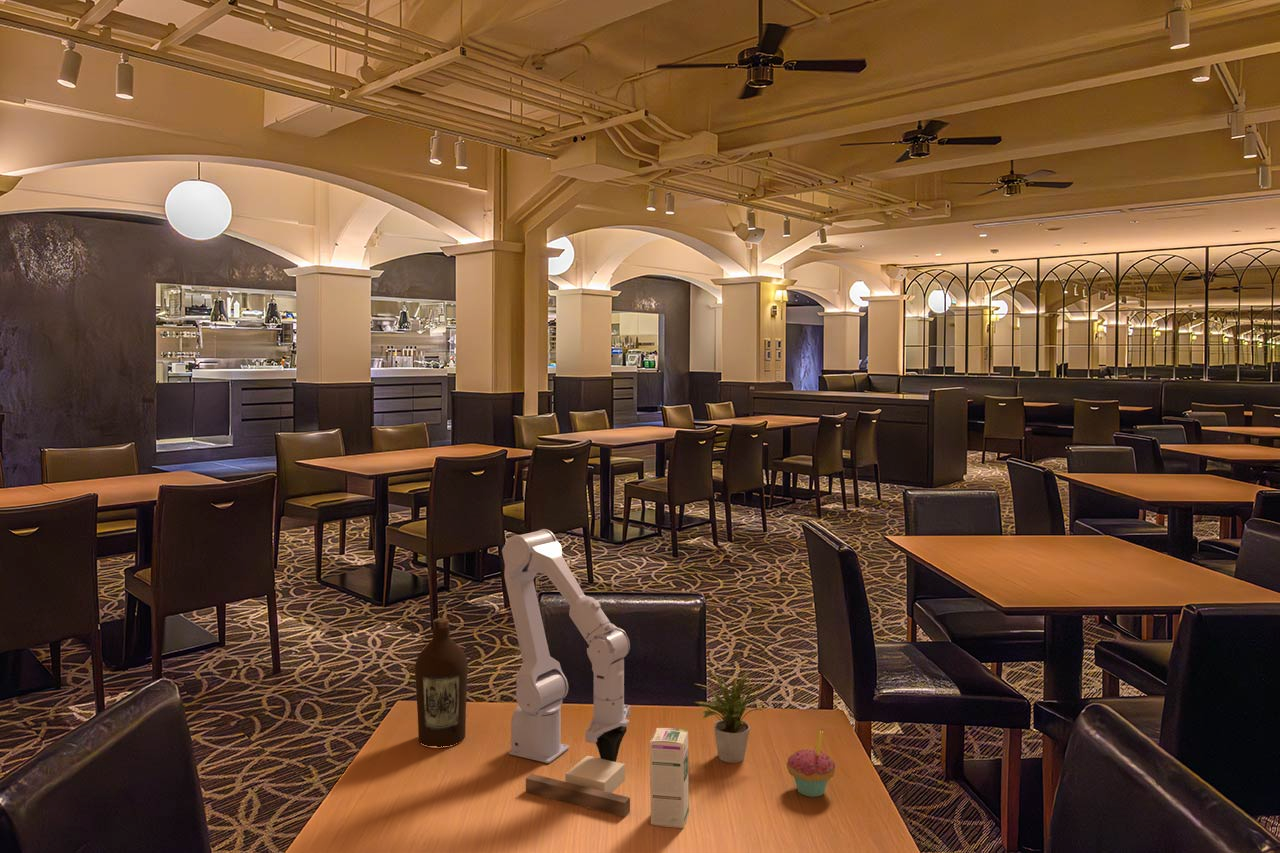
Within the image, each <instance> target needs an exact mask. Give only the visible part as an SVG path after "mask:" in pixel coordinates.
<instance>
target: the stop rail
mask: <svg viewBox="0 0 1280 853" xmlns="http://www.w3.org/2000/svg"><path fill="white" fill-rule="evenodd" d="M525 793H529V794H532V795H536V796H541V797H545V798H548V799H552V800H556V801H558V802H559V801H560V802H564V803H568V804H571V805H575V806H580V807H584V808H588V809H591V810H595V811H599V812H603V813H607V814H610V815H614V816H620V817H622V818H626V816H628V815H629V814H630V812H631V797H629V796H625V795H621V794H616V793H614V792H612V793H609V792H605V791H601V790H597V789H593V788H589V787H585V786H580V785H576V784H572V783H568V782H566V781H563V780H559V779H557V778H556V779H555V778H552V777H551V778H550V777H547V776H542V775H539V774H534V773H531V774H530V775H528V776H526V778H525Z"/></svg>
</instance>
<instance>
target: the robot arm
mask: <svg viewBox="0 0 1280 853" xmlns="http://www.w3.org/2000/svg"><path fill="white" fill-rule="evenodd" d="M562 548H563V547H562V545H561V543H560V542H559V541H558V540H557V537H556V536H555V534H554V533H553V532H552V531H551V530H549V529H546V528H542V529H539V530H537V531H532V532H529V533H523V534H516V535H515V534H514V535H512V536H510V537H509V538H508V539H507V540H506V542H505V544H504V545H503V547H502V549H501V553H502V558H503V562H504V581H505V587H506V591H507V596H508V600H509V605H510V609H511V614H512V619H513V623H514V628H515V631H516V637H517V641H518V647H519V651H520V655H521V660H522V664H521V667H520V669H519V670H518V672H517V674H515V682H516V691H515V700H516V702H517V705H518V706H516V708H515V709H514V710H513V713H512V716H511V721H510V722H511V723H510V726H511V727H510V730H511V731H510V734H511V736H510V739H511V740H510V741H511V743H510V745H511V748H510V749H511V750H509V751H508V752H509V753H508V754H509V755H511V756H515V757H520V758H524V759H527V760H531V761H532V760H533V761H537V762H541V763H546V764H549V763H551V762H553V761H554V760H555V759H557V758H558V757H559V756H561V755H562V754H563V753H565V752H566V751H567V750H568V749H569V748H570V745H569V744H566V743H561V741H562V739H561V738H562V736H561V730H562V729H561V727H562V726H561V725H562V724H561V723H562V722H561V717H562V716H561V714H562V712H561V711H562V710H561V706H562V705H563V699H565V698H566V696H567V694H568V692H569V682H568V679H567V677H566V676H565V674H564V672H563V669H562V667H561V664H560V662H559V661H558V660H556V659H555V658H554V657H552V656H551V654H550V651H549V645H548V642H547V638H546V632H545V628H544V623H543V622H544V621H543V619H542V614H541V610H540V605H539V600H538V596H537V591H536V586H535V581H534V579H535V577H536V576H537V574H541V575H542V574H543V575H546V576H547V578H548V579H549V580H550V582H551V584H553V586H554V587H555V588H556V590H558V592H559V593H560V594H561V596H562V597H563V598H564V600H565V601H566V602H567V604H568V605H569V612H568V613H569V614H568V615H569V618H570V619H571V620H572V622H573V624H574V625H575V626H576V628H577V630H578V632H579V633H580V634H581V635H582V637H583V639H584V640H585V641H586V643H587V645H588V647H587V648H586V653H587V657H588V658H589V661H590V663H591V667H592V668H591V671H592V673H593V716H592V718H591V721H590V723H589V726H588V729H587V730H585V733H584V734H585V738H584V740H585V743H590V744H595V745H596V747H597V750H598V754H599V758H600V759H605V760H609V761H614V762H617V760H618V754H619V752H620V751H619V750H620V747H621V743H622V741H623V738H624V737H625V734H626V733H627V730H628V729H627V726H628V725H629V724H630V719H627V718H628V717H630V716H631V705H629V704H625V685H624V684H625V657H626V656H627V655H628V654H629V653H630V652H629V651H630V649H631V642H630V639H629V637H628V635H627V633H626V631H625V630H624V629H622V628H621V627H617V626H616V625H615V624H614V623H611V621H610V620H609V618H608V617H607V615H606V614H605V612H604V610H603V609H602V608H601V607H602V606H601V603H600V602H599V601H598V600H596V599H595V597H592V596H588V595H585V593H584V591H583V590H582V588H581V586H580V584H579V583H578V581H577V579H576V578H575V575H574V574H573V572H572V571H571V569H570V567H569V565H568V563H567V562H566V559H564V557H563V552H562V551H563V550H562Z"/></svg>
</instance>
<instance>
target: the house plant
mask: <svg viewBox="0 0 1280 853" xmlns="http://www.w3.org/2000/svg"><path fill="white" fill-rule="evenodd" d="M711 674H712V676H714V678H715V680H716V681H717V683H718V687H719V690H720V692H721V694H722V697H723V699H724V700H723V699H722V698H721V696H720V695H719V694H718V693H717V692H716V691H715V690H714V689H713V688H711V687H709V686H707V685H704V684H699V683H695V685H697V686H701V687H700V689H701V690H702V689H703V690H706V691H708V692H710V691H711V692H710V694H712V696H713V697H714V699H715V700H713V701H710V702H704V701H695V704H697V705H699V707H701V708H705V709H706V710H705V711H703V712H701V715H703V717H702V719H705V718H708V717H711V716H715V717H716V718H718V719H719V718H721V719H719V720H717V721H716V722H714V724H713V728H714V729H713V730H714V735H715V743H716V750H717V754H718V755H717V756H718V758H719V760H721V761H722V762H726V763H733V764H735V763H741V762H743V761H744V760H745V757H746V751H747V745H748V741H749V735H750V734H749V733H750V730H751V727H750V726H751V725H749V723H747V722H746V721H744V720H743V719H744V718H745V716H746V715H748V714H749V713H751V712H753V711H762V712H764V713H765V711H764V710H763V709H762V708H753V709H752V710H749V711H748V712H746V710H747V709H748V707H747V705H749V703H750V701H752V699H754V698H755V696H757V695H758V693H755V694H754V695H753V696H751V697H750V695H751V694H752V692H753V689H754V687H755V684H756V683H754V684H753V685H752V687H751V689H749V688H750V685H751V682H752V679H750V680H749V681H748V684H747V685H746V687H745V690H744V691H743V688H744V686H745V683H746V681H747V678H748V676H749V674H750V671H747V672H746V673H745V674H743V676H742V677H741V679H740V680H739V681H738V679H737V678H735V679H734V681H733V685H732V687H731V692H730V693H729V689H728V686H727V683H726V682H725V681H724V680H723V679H720V678H719V676H717V675H716V674H715V673H714V672H711ZM737 682H738V683H737ZM703 687H705V688H703ZM712 692H713V693H712ZM742 692H743V693H742ZM747 692H748V693H747ZM746 694H747V695H746ZM749 697H750V698H749ZM748 698H749V699H748ZM745 712H746V713H745ZM744 713H745V714H744ZM743 714H744V715H743ZM718 716H719V717H718Z"/></svg>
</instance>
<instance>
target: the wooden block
mask: <svg viewBox="0 0 1280 853" xmlns="http://www.w3.org/2000/svg"><path fill="white" fill-rule="evenodd" d="M625 781H626V763H622V762H617V761H616V762H614V761H609V760H605V759H601V758H600V757H596V756H595V757H594V756H590V755H586V756H585V757H584V758H582V760H580V761H579V762H578V763H576V764H575V765H574V766H573V767H572V768H570V769H569V770H568V771H567V772H565V782H568V783H572V784H576V785H580V786H585V787H589V788H593V789H597V790H601V791H605V792H609V793H614V791H616V790H617V789H618V788H619V787H620V786H621V785H622V784H623V783H624V782H625Z"/></svg>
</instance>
